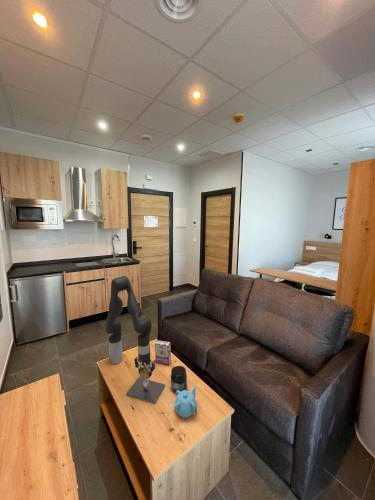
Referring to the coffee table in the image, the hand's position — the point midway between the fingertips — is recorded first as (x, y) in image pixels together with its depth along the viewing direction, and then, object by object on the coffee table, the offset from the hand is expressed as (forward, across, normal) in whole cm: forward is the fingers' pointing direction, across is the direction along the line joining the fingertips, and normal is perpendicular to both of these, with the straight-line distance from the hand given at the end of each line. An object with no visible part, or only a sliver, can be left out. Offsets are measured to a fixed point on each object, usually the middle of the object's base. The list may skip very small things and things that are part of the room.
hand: (145, 374), depth 132 cm
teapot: (+12, +29, -5) cm, 32 cm away
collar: (+1, 0, 0) cm, 1 cm away
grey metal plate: (+11, 0, 0) cm, 11 cm away
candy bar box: (+12, -1, +28) cm, 30 cm away
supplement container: (+12, +19, +9) cm, 24 cm away
